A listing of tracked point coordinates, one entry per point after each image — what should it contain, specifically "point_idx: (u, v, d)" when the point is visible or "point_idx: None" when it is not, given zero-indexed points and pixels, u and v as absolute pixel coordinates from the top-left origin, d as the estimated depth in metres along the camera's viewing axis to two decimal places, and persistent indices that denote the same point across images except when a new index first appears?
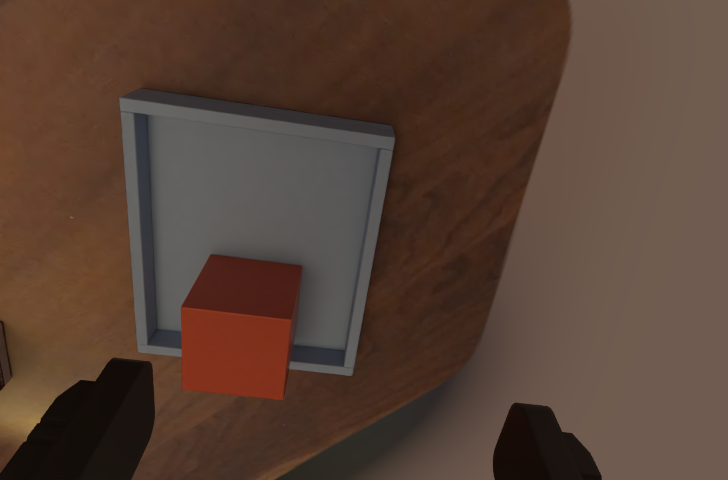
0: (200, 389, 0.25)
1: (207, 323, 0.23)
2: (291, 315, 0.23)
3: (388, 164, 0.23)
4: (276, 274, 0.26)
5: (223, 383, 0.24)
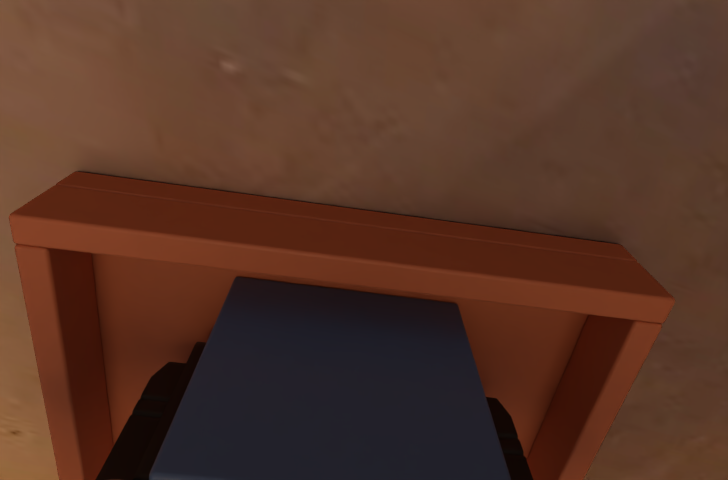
0: None
1: None
2: None
3: None
4: None
5: None
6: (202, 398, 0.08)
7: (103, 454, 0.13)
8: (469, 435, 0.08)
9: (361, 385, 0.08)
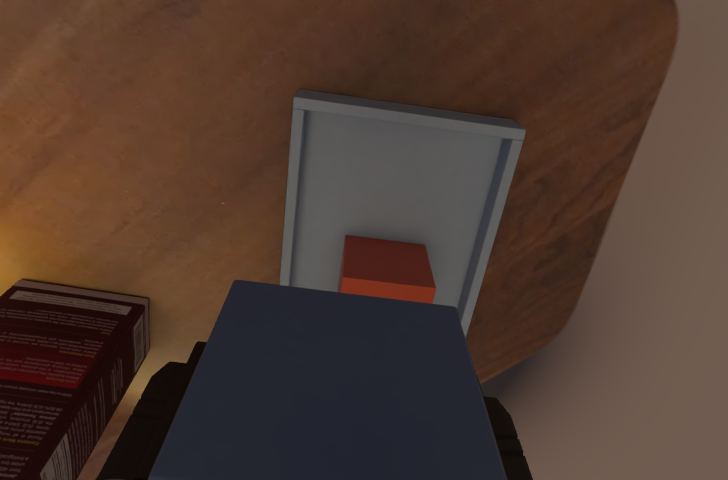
0: None
1: (363, 292, 0.26)
2: (434, 284, 0.27)
3: (518, 153, 0.27)
4: (407, 251, 0.29)
5: None
6: (201, 402, 0.08)
7: None
8: (467, 439, 0.08)
9: (359, 388, 0.08)
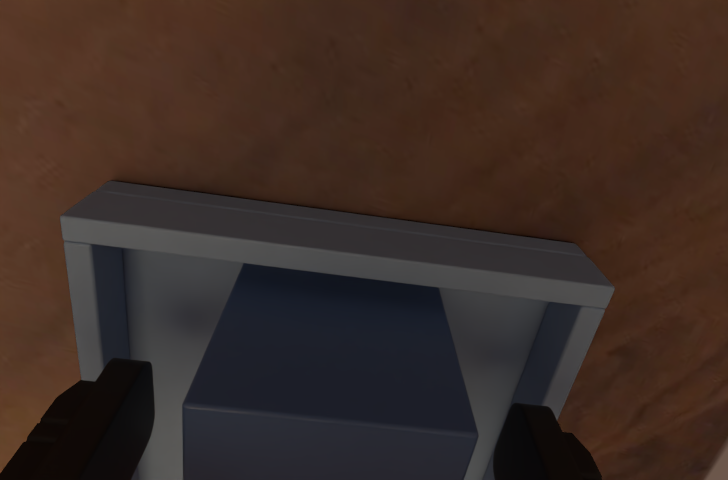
0: None
1: None
2: None
3: (592, 333, 0.12)
4: None
5: None
6: (221, 351, 0.09)
7: None
8: (441, 382, 0.09)
9: (352, 344, 0.10)
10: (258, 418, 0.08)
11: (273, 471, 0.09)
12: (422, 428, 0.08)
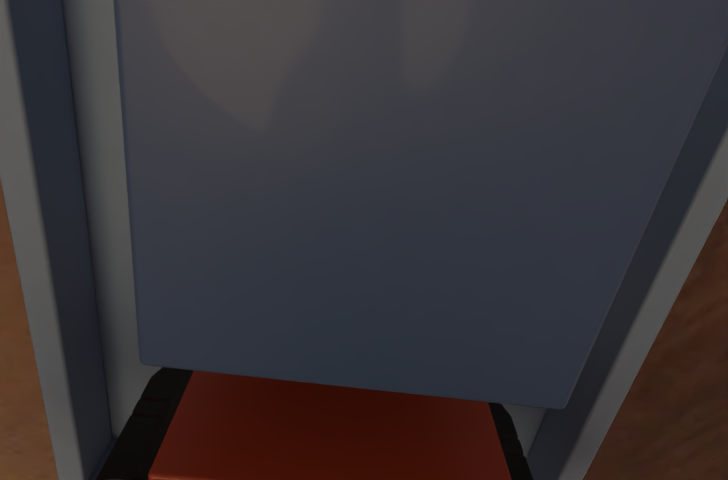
0: None
1: None
2: None
3: None
4: None
5: None
6: None
7: None
8: None
9: None
10: None
11: (310, 43, 0.04)
12: None
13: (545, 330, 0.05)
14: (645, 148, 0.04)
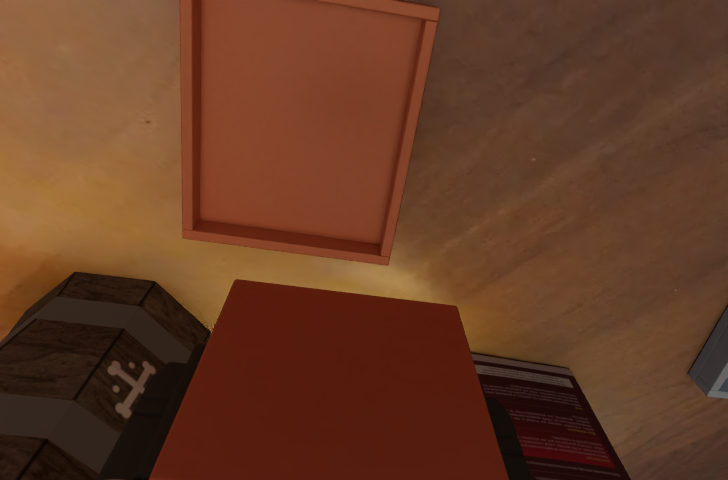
0: None
1: None
2: None
3: None
4: (408, 334, 0.10)
5: None
6: None
7: (197, 114, 0.27)
8: None
9: None
10: None
11: None
12: None
13: None
14: None
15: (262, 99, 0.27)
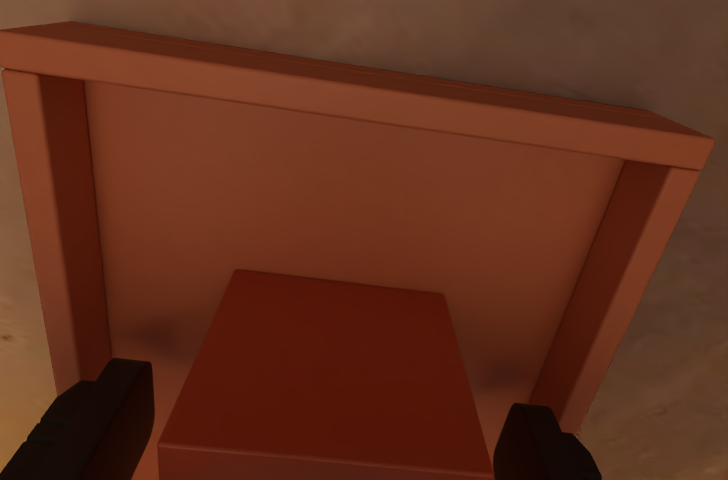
0: None
1: None
2: (487, 456, 0.08)
3: None
4: (398, 319, 0.11)
5: None
6: None
7: (99, 347, 0.12)
8: None
9: None
10: None
11: None
12: None
13: None
14: None
15: None
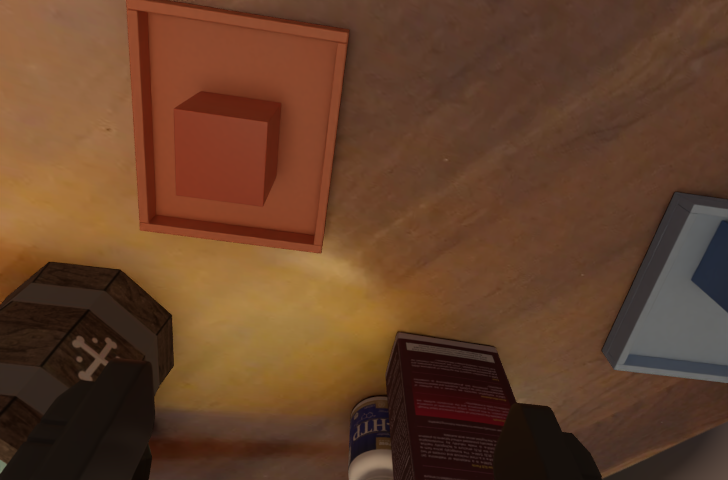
0: (191, 195, 0.28)
1: (196, 126, 0.27)
2: (268, 120, 0.27)
3: None
4: (258, 104, 0.30)
5: (211, 188, 0.28)
6: None
7: (149, 122, 0.31)
8: None
9: None
10: None
11: None
12: None
13: None
14: None
15: None
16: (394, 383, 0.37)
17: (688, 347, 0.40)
